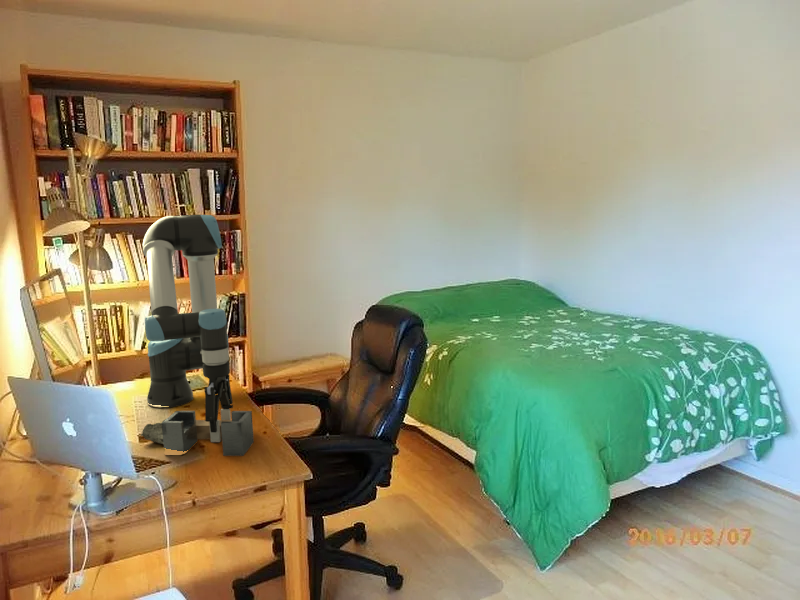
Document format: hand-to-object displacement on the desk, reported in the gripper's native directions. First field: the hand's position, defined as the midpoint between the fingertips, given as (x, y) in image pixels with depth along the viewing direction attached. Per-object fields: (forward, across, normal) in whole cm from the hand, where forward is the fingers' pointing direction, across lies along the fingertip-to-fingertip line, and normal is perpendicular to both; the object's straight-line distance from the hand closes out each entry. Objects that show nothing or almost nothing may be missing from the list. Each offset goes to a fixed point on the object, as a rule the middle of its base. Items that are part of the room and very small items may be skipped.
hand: (221, 435), depth 181 cm
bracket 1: (0, +9, -8) cm, 12 cm away
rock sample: (+1, +3, -16) cm, 16 cm away
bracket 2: (0, +9, +8) cm, 12 cm away
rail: (+1, 0, 0) cm, 1 cm away
